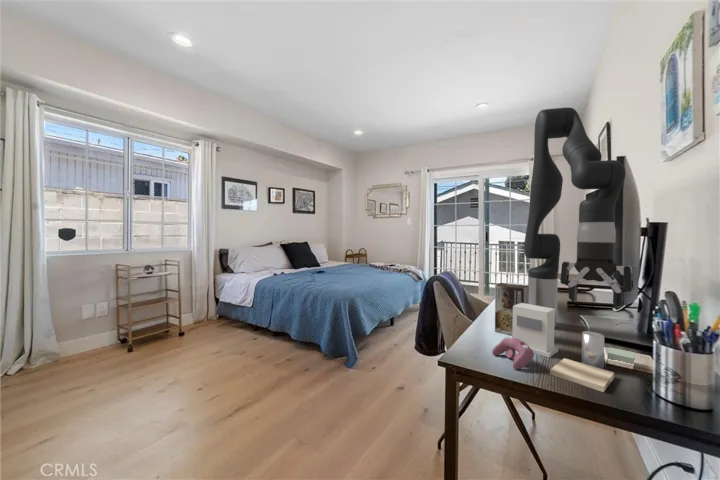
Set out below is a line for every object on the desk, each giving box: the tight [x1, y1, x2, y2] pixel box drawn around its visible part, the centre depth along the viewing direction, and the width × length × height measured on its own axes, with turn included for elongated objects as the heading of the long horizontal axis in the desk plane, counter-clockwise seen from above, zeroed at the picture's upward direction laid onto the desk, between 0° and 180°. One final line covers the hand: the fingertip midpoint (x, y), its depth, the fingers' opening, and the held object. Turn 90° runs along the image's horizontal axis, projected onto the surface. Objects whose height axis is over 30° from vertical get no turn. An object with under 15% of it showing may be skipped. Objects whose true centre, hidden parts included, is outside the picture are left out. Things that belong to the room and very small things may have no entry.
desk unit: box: [511, 303, 560, 359], centre depth 86 cm, size 7×11×12 cm, turn 39°
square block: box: [607, 347, 636, 365], centre depth 76 cm, size 5×5×3 cm
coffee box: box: [494, 282, 529, 336], centre depth 99 cm, size 9×6×16 cm
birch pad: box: [549, 357, 615, 393], centre depth 69 cm, size 10×10×1 cm
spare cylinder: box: [581, 330, 605, 369], centre depth 75 cm, size 4×4×8 cm
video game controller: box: [491, 336, 535, 371], centre depth 77 cm, size 10×5×7 cm, turn 10°
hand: (594, 304), depth 75 cm, fingers open, 8 cm apart
